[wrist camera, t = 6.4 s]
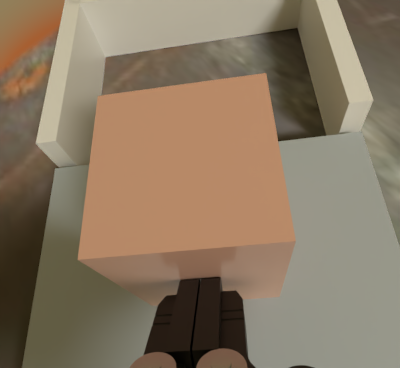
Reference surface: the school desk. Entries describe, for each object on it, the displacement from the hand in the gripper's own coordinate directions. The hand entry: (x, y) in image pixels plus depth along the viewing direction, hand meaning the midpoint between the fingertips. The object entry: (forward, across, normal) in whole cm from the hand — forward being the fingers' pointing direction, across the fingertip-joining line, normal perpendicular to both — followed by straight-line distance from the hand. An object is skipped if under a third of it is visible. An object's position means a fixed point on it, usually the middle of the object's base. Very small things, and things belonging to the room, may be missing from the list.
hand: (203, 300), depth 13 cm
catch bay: (+16, 0, -6) cm, 17 cm away
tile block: (+5, 0, 0) cm, 5 cm away
